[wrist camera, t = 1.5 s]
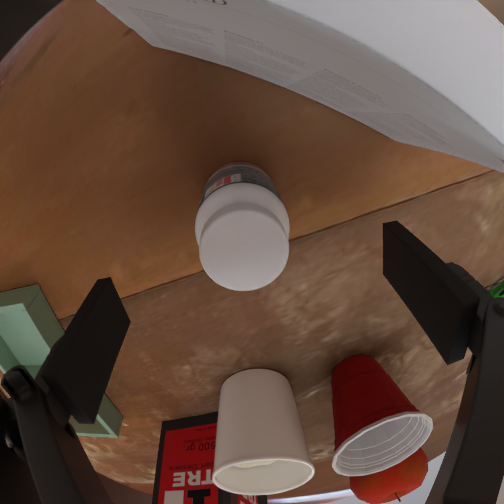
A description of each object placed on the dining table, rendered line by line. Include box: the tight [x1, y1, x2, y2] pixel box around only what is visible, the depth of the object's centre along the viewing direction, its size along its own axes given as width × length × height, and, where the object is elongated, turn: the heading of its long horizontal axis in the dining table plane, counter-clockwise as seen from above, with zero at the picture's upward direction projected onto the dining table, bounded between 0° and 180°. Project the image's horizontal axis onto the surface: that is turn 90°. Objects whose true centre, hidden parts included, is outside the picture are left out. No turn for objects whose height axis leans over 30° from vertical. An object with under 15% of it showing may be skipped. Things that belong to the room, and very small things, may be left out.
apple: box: [350, 447, 428, 504], centre depth 36 cm, size 12×12×14 cm
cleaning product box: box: [152, 412, 267, 504], centre depth 32 cm, size 16×9×20 cm, turn 20°
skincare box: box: [96, 0, 504, 173], centre depth 14 cm, size 21×5×16 cm, turn 69°
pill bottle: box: [195, 162, 290, 291], centre depth 21 cm, size 6×6×10 cm
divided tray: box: [0, 284, 123, 438], centre depth 31 cm, size 22×12×4 cm, turn 11°
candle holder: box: [212, 369, 315, 495], centre depth 30 cm, size 10×10×12 cm
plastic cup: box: [331, 355, 433, 476], centre depth 30 cm, size 11×11×12 cm
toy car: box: [485, 278, 504, 298], centre depth 31 cm, size 10×5×2 cm, turn 111°
